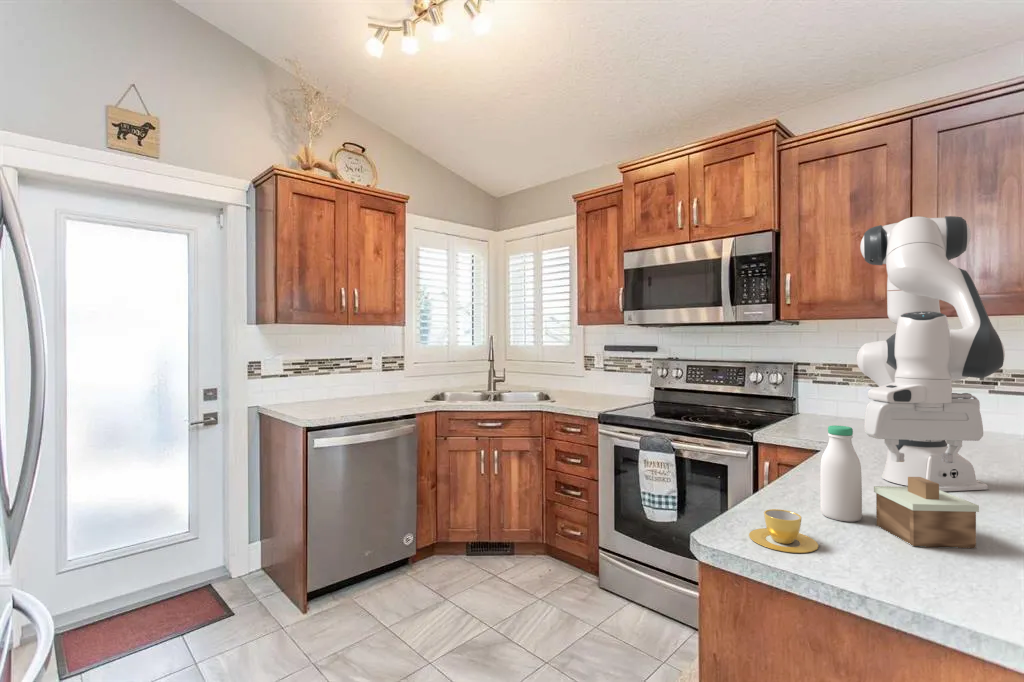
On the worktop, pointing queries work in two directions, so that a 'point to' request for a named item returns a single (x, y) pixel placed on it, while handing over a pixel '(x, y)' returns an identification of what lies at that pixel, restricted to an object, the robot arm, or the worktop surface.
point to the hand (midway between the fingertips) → (922, 462)
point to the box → (927, 525)
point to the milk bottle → (840, 477)
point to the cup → (783, 532)
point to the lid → (925, 497)
